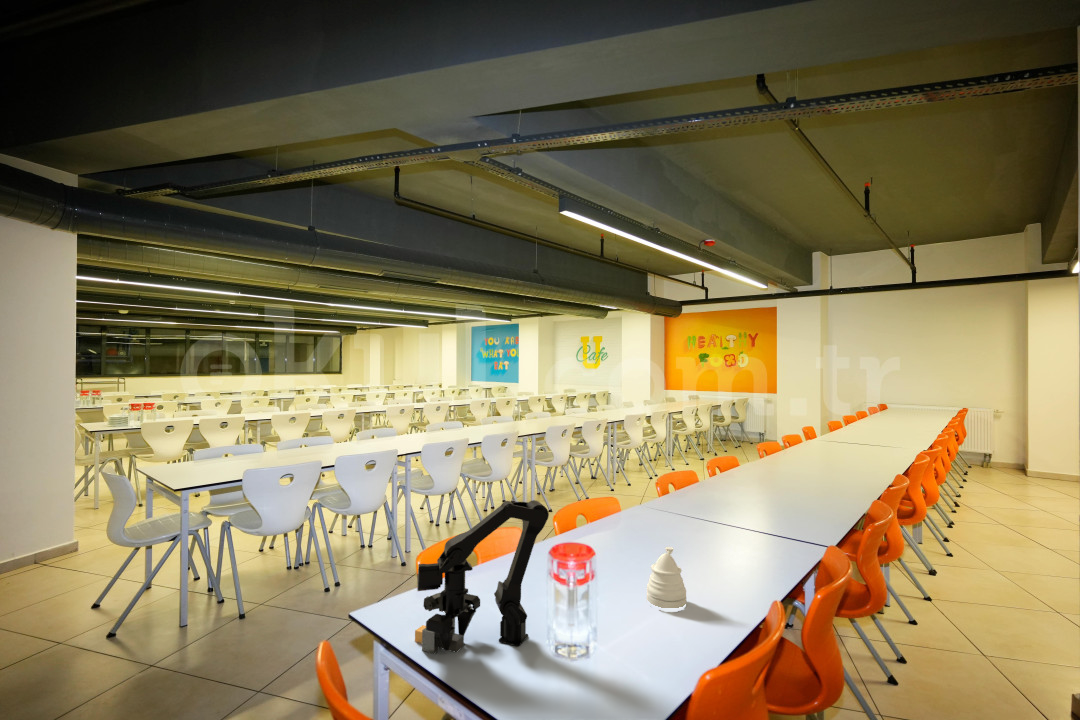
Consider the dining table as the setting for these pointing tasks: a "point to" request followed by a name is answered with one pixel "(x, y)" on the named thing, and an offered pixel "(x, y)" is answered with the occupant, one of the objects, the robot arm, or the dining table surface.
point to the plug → (455, 644)
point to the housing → (431, 640)
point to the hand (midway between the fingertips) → (453, 643)
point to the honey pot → (666, 583)
